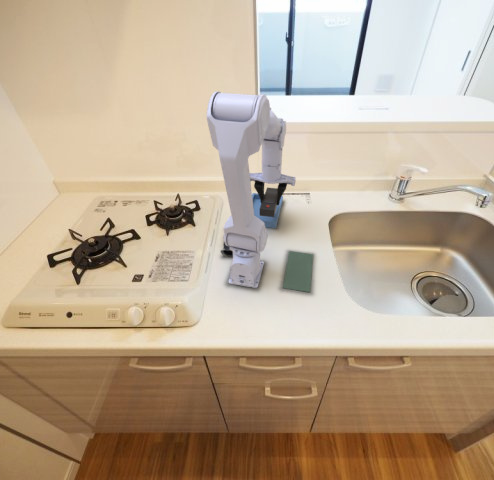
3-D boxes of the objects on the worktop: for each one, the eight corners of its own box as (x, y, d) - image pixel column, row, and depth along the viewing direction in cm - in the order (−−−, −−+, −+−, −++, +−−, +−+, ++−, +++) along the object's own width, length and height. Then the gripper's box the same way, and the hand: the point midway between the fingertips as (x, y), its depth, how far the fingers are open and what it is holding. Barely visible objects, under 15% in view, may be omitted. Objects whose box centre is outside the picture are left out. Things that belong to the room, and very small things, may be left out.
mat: (309, 292, 67) (310, 291, 66) (282, 288, 68) (282, 287, 67) (312, 255, 77) (312, 254, 77) (289, 251, 78) (289, 250, 78)
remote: (274, 217, 79) (274, 209, 77) (259, 215, 80) (259, 208, 78) (279, 195, 88) (280, 188, 87) (266, 194, 89) (267, 186, 87)
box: (275, 228, 87) (276, 222, 85) (242, 224, 89) (241, 218, 87) (282, 201, 99) (282, 196, 97) (252, 198, 101) (252, 192, 99)
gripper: (298, 158, 76) (294, 198, 85) (250, 155, 79) (251, 194, 87) (296, 169, 71) (292, 210, 80) (244, 165, 73) (246, 205, 82)
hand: (270, 202), depth 83 cm, fingers closed on remote, 4 cm apart
